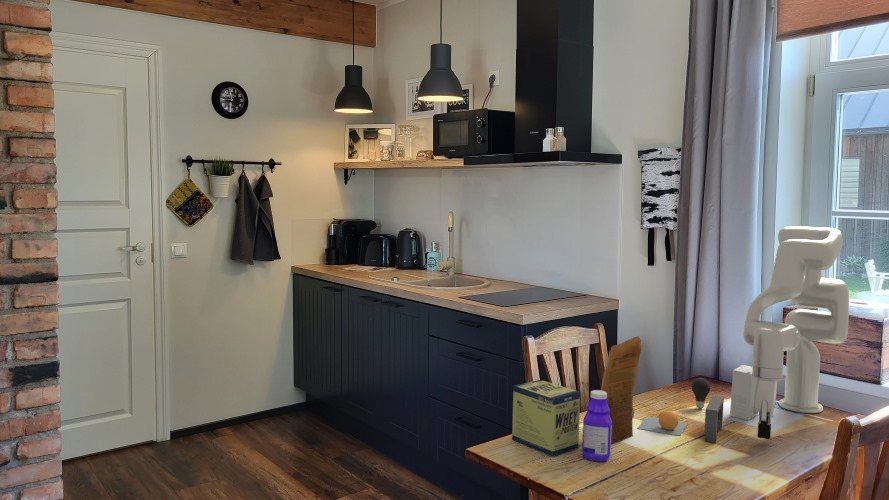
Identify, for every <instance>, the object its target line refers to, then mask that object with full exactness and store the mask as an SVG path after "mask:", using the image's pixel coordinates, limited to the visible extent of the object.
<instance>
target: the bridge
mask: <svg viewBox="0 0 889 500" xmlns="http://www.w3.org/2000/svg"><path fill="white" fill-rule="evenodd" d="M724 399H725V398H724V396H718V395H712V396H711V398H710V400H709V402H708V404H707V406H706V407H705V410H704V411H705V412H704V414H705V415H704V438H703V442H704V443H710V444H717V442H718V438H717V437H718V430H719V431H722V430H723V422H724V421H723V420H724V402H725V401H724Z"/></svg>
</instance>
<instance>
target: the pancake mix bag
mask: <svg viewBox="0 0 889 500" xmlns="http://www.w3.org/2000/svg"><path fill="white" fill-rule="evenodd" d="M610 349H611V350H609V352H608V356H607V359H606V360H607V361H606V365H605V368H604V372H603V376H602V382H601V390H600V391H605V392H606V393H607V404H608V407H609V409H610V411H609V415H610V418H611V421H612V430H611V445H613V444H614V445H615V444H616V443H619V442H620V441H623V440H625V439H628V438H630V437H633V434H634V433H633V421H634V420H633V419H634V417H633V408H634V406H633V402H634V401H633V400H634V389H635V385H636V381H637V378H638V371H639V369H638V368H639V362H640V361H639V360H640V358H641V352H642V340H641V338H640V337H639V335H637V336H635V337H632V338H629V339H627V340H625V341H623V342H622V343H618V344H615V345H612V346H611V347H610Z"/></svg>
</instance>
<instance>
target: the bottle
mask: <svg viewBox="0 0 889 500" xmlns="http://www.w3.org/2000/svg"><path fill="white" fill-rule="evenodd" d="M609 411H610V409H609V407H608V404H607V393H606V392H605V391H601V390H600V389H595V390H594V389H593V390H590V397H589V402H588V405H587V406H586V413H585V415H584V417H583V421H582V446H581V453H582V456H583V458H584V459H586V460H589V461H595V462H607V461H608V460H609V458H610V456H611V450H612V449H611V447H612V444H611V430H612V421H611V418H610V415H609Z"/></svg>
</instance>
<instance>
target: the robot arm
mask: <svg viewBox="0 0 889 500" xmlns="http://www.w3.org/2000/svg"><path fill="white" fill-rule="evenodd" d="M843 239H844V238H843V234H842V232H841V231H840V230H839V229H837V228H833V227H814V226H785V227H783V228H781V229H780V230H779V231H778V234H777V240H778V243H779V244H778V247H777V250H776V254H775V258H774V263H773V264H774V265H773V269H772V273H771V279H770V284H769V286H768V287H767V288H766V289H765V290H763V291H762V292H761V293H759V294H758V295H757V296H756V297H755V298H754V300H753V301H752V302H751V304H749V306H748V308H747V312H746V316H745V317H746V318H745V321H744V325H743V339H744V342H745V343H746V344H747V345H748V346H752V347H753V348H752V349H753V353H752V367H753V368H752V376H753V377H754V378H756V382H755V394H754V409H753V413H754V414H755V416H757V415H758V422H757V434H756V435H757V438H758V439H764V440H771V436H772V435H771V434H772V432H771V431H772V422H771V421H772V416H773V415H774V412H775V408H776V407H775V406H776V401H777V394H778V393H777V390H778V382H781V381H782V380H783V375H784V352H786V360H785V361H786V363H785V364H786V365H785V381H784V382H785V385H784V396H783V397H784V398H781V399H780V400H778V405H779V407H781V408H783V409H784V410H788V411H792V412H796V413H802V414H804V413H805V414H818V413H821V412H823V410H824V406H823V405H822V404H821V403H819V386H820V385H819V384H820V372H821V371H820V370H821V354H820V351H819V349H818V347H817V345H816V344H815V343H814V342H819V343H827V344H834V345H836V344H838V345H839V344H844V342H846V341H847V338H848V335H849V315H850V311H849V310H850V309H849V308H850V307H849V306H850V292H849V287H848V285H847V283H846V282H845V281H843V280H841V279H838V278H837V279H836V278H829V277H828V278H827V277H826V278H825V277H824V276H822V271H827V270H830V268H832V267H833V265H834V263H835V261H836V260H837V258H838V257H839V255H840V253H841V251H842V249H843V244H844V243H843V242H844V240H843ZM788 300H791V301H792V303H793V304H795V306H798V307H804V308H813V309H814V310H812V309H804V308H803V309H802V308H801V309H793V310H790V311H789V312H788V313H787V315H786V316H785V321H784V322H775V321H768V320H767V321H766V320H759V319H760V317H761V314H762V313H763V312H764V311H765V310H766V309H768V308H770V307H771V306H773V305H776V304H779V303H782V302H786V301H788ZM815 309H820V310H821V309H822V310H828V311H829V312H828V311H822V310H821V311H820V310H815ZM756 414H757V415H756Z"/></svg>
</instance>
